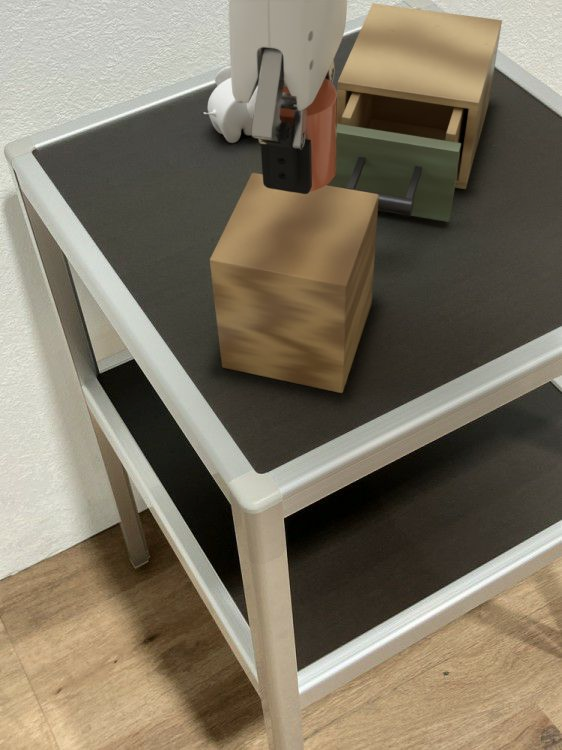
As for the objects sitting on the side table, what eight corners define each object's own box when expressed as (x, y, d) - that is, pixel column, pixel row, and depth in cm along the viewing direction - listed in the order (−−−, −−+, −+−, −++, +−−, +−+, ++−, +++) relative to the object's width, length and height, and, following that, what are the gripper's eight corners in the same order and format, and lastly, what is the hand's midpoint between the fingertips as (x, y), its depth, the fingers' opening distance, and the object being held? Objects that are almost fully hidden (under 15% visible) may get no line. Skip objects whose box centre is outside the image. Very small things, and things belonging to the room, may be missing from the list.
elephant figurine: (292, 133, 97) (291, 81, 92) (224, 162, 94) (220, 110, 90) (256, 100, 101) (253, 49, 96) (189, 128, 98) (183, 76, 93)
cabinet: (465, 189, 91) (479, 102, 83) (335, 167, 93) (337, 81, 86) (488, 105, 99) (502, 19, 92) (368, 87, 101) (372, 2, 94)
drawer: (436, 265, 83) (446, 195, 77) (309, 241, 86) (308, 171, 79) (472, 138, 94) (482, 68, 88) (358, 121, 96) (361, 51, 90)
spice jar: (344, 152, 67) (345, 77, 63) (325, 198, 64) (325, 122, 60) (275, 142, 68) (271, 67, 64) (254, 186, 65) (248, 111, 61)
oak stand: (371, 304, 82) (378, 193, 72) (342, 393, 76) (346, 285, 66) (259, 282, 84) (252, 172, 74) (221, 367, 78) (209, 259, 68)
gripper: (270, -181, 58) (282, 84, 72) (169, -44, 47) (206, 235, 61) (394, -172, 56) (381, 98, 70) (316, -28, 46) (320, 254, 60)
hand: (299, 159), depth 66 cm, fingers closed on spice jar, 5 cm apart
